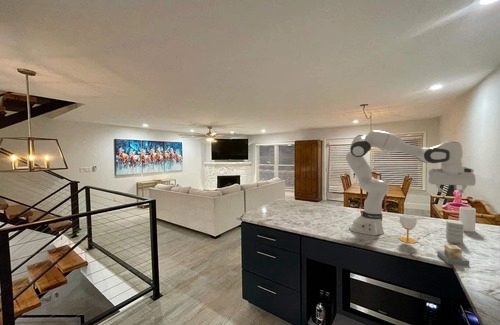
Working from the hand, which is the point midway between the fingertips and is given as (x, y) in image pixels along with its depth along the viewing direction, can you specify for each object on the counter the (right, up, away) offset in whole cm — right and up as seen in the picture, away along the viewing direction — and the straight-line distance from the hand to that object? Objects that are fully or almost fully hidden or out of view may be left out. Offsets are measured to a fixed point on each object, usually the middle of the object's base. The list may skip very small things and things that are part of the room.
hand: (450, 192), depth 123 cm
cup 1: (-15, -34, +14) cm, 40 cm away
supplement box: (+14, -33, +12) cm, 38 cm away
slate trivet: (-9, -36, -11) cm, 38 cm away
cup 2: (+41, -32, +30) cm, 60 cm away
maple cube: (-10, -33, -11) cm, 36 cm away
